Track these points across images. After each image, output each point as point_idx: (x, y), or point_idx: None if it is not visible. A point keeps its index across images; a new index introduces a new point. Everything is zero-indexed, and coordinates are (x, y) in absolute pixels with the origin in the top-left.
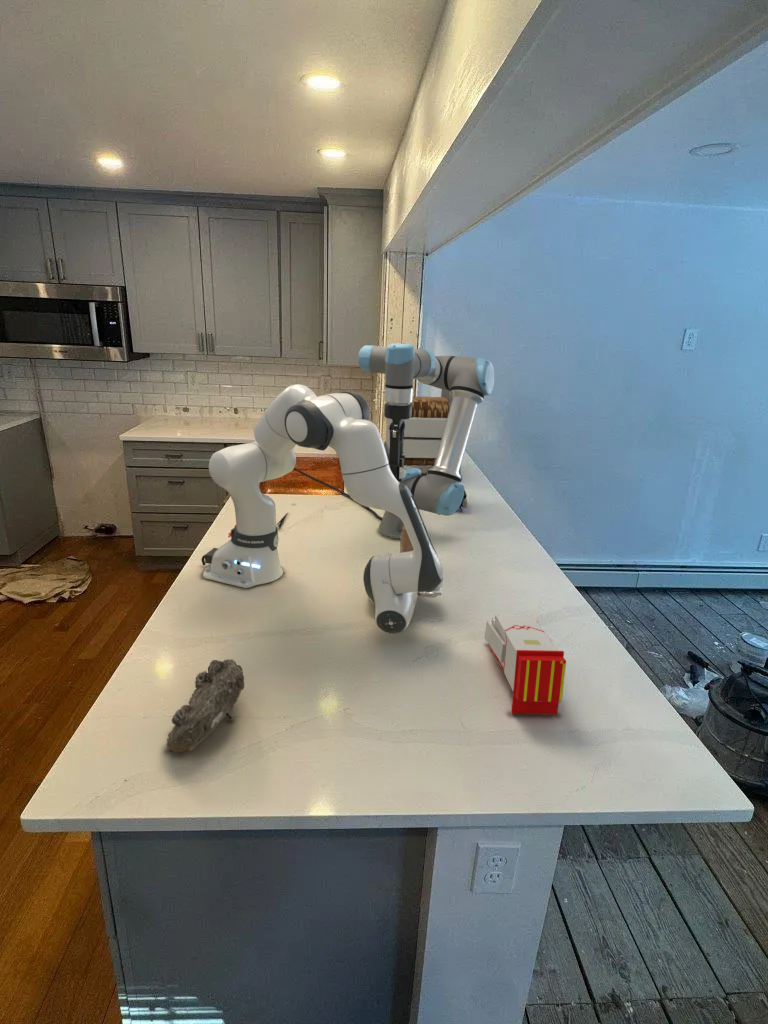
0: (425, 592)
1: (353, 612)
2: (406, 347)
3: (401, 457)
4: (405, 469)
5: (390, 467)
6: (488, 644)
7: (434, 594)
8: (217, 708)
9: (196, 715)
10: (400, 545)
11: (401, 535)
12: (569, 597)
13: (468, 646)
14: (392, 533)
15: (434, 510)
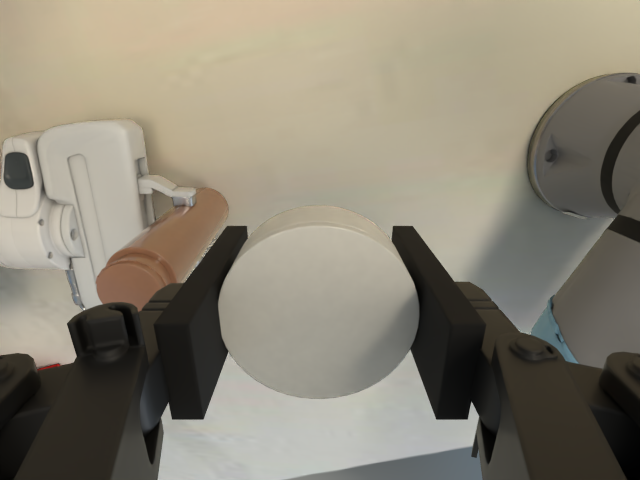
0: (69, 283)
1: (53, 93)
2: None
3: (478, 428)
4: (333, 396)
5: (167, 318)
6: (53, 365)
7: (74, 301)
8: None
9: None
10: (142, 232)
11: (118, 250)
12: (282, 474)
13: (40, 334)
14: (547, 131)
15: (553, 299)
